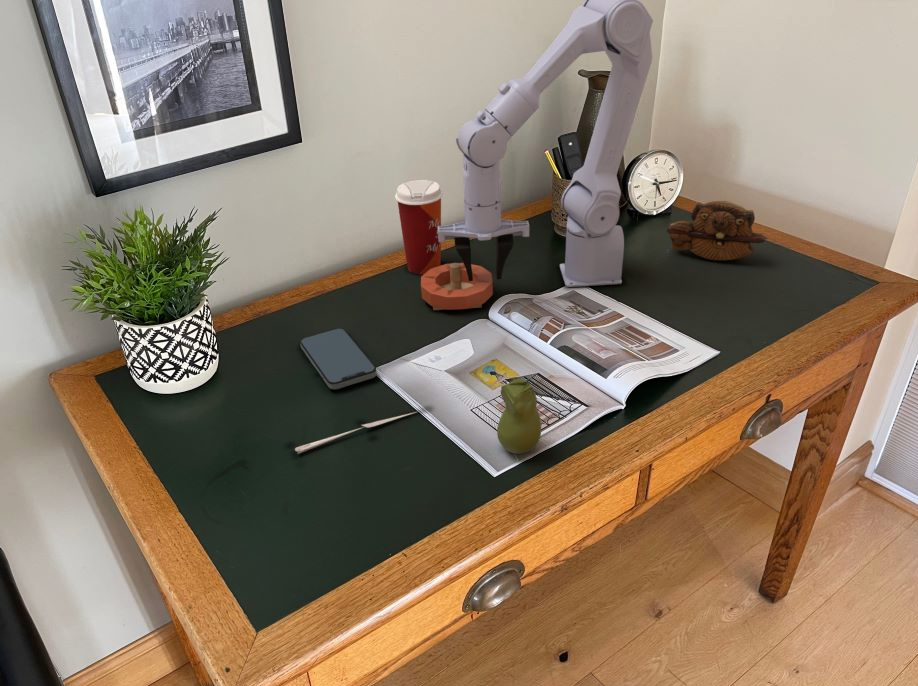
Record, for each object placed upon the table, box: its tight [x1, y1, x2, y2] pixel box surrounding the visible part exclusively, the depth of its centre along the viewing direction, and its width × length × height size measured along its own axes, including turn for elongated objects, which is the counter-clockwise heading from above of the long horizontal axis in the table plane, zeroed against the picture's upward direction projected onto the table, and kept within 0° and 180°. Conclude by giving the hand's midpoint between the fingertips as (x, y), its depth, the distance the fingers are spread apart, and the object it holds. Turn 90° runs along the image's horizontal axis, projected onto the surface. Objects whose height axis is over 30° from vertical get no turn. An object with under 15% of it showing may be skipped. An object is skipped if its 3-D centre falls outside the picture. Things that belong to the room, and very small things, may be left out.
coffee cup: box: [394, 179, 444, 275], centre depth 138 cm, size 8×8×15 cm
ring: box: [420, 262, 494, 311], centre depth 131 cm, size 12×12×2 cm
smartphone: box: [299, 328, 378, 390], centre depth 118 cm, size 8×2×15 cm
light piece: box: [294, 411, 419, 455], centre depth 104 cm, size 4×1×19 cm
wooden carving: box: [666, 200, 768, 262], centre depth 136 cm, size 16×5×10 cm, turn 68°
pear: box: [496, 378, 542, 455], centre depth 97 cm, size 6×5×10 cm
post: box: [432, 262, 483, 311], centre depth 131 cm, size 8×8×6 cm
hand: (484, 277), depth 130 cm, fingers open, 4 cm apart
